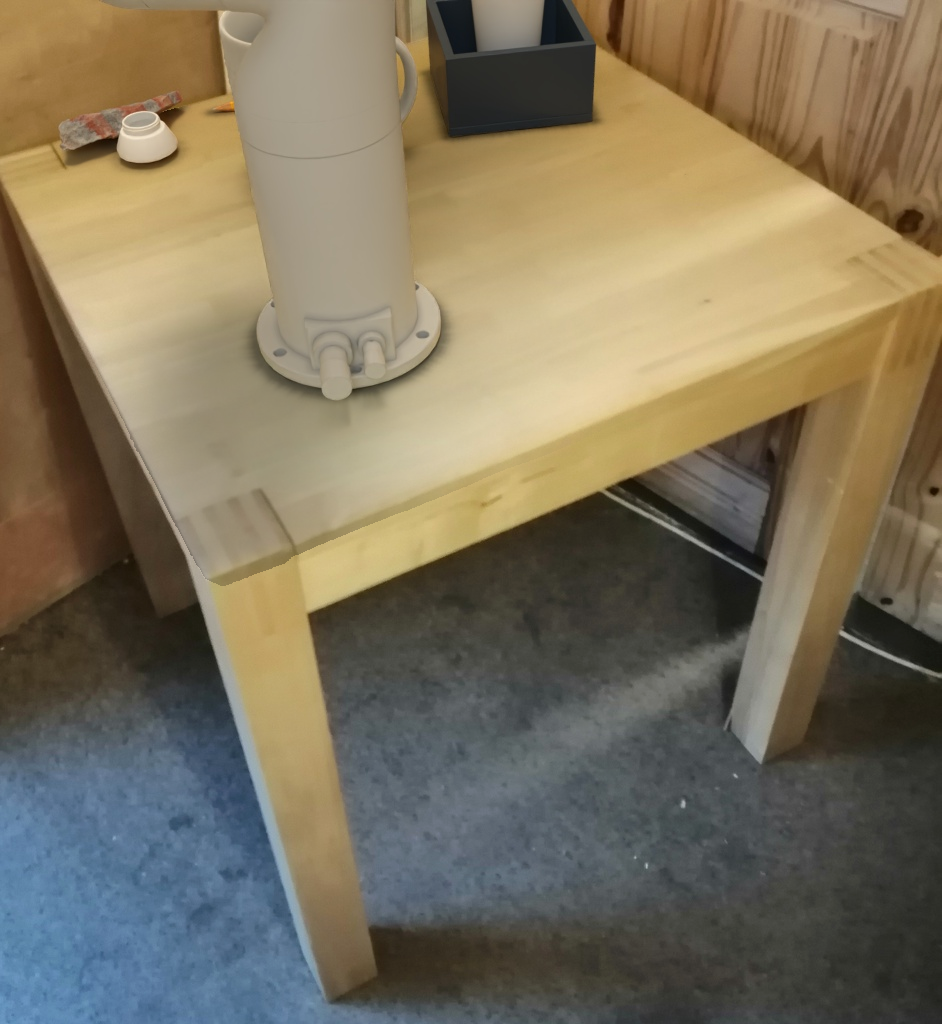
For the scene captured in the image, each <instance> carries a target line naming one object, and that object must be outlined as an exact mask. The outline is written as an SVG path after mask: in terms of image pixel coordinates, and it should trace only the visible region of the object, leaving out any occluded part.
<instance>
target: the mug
mask: <svg viewBox="0 0 942 1024" xmlns="http://www.w3.org/2000/svg"><path fill="white" fill-rule="evenodd" d="M264 25H265V19H264V18H263V17H262V16H260V15H258V14H254V13H246V12H231V11H222V14H221V15H220V17H219V20H218V31H219V32H218V33H219V37H220V41H221V46H222V51H223V59H224V65H225V67H226V73H227V78H228V84H229V86H230V90H231V91H230V92H231V96H232V97H233V91H234V83H235V77H236V74H237V71H238V68H239V65H240V63H241V61H242V59H243V57H244V55H245V54H246V52H247V50H248V48H249V47H250V45H251V44H252V42H253V41H254V39H255V38H256V36H257V35H258V34H259V32H260V31H261V29H262V28H263V26H264ZM395 37H396V55H398V56H399V58H400V61H401V63H402V67H403V74H404V80H403V89H402V93H401V96H400V97H399V99H400V113H401V124H403V123H404V121H405V120H406V119H407V117H408V116H409V114H410V113H411V111H412V109H413V106H414V104H415V101H416V97H417V93H418V71H417V66H416V63H415V60H414V57H413V55H412V53H411V52H410V50H409V48H408V46H407V45H406V44H405V43H404V42H403V40H402V39H400V38H399V37H398V36H396V35H395Z"/></svg>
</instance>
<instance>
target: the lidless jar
mask: <svg viewBox="0 0 942 1024" xmlns="http://www.w3.org/2000/svg"><path fill="white" fill-rule="evenodd" d="M178 145H179V142H178V139H177V136H176V134H175V133H174V132H173V131H172V130H171V128H169V127H168V125H167V124H166V123H165V121H163V120H161V118H160V116H159V115H157V114H156V113H154V112H149V111H141V112H135V113H132V114H130V115H128V116H126V117H125V118H124V119H123V121H122V128H121V130H120V134H119V137H118V139H117V144H116V152H117V154H118V156H119V158H120V159H123V160H124V161H126V162H131V163H137V164H147V163H148V164H149V163H153V162H157V161H160V160H162V159H165V158H166V157H169V156H170V155H172V154H173V153H174V152H175V151H176V150H177V148H178Z"/></svg>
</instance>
